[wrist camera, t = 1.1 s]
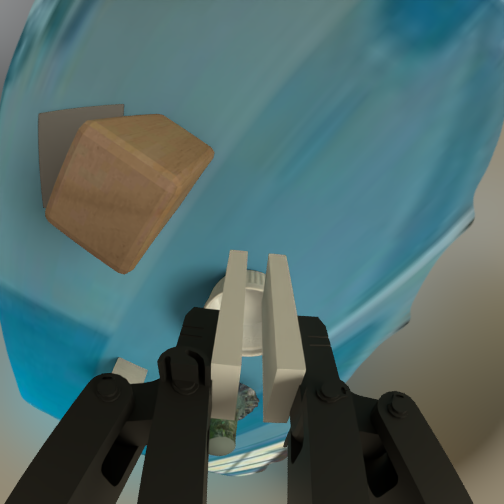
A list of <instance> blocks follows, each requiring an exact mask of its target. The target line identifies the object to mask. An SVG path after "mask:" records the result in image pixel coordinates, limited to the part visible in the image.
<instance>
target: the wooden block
mask: <svg viewBox="0 0 504 504" xmlns="http://www.w3.org/2000/svg"><path fill="white" fill-rule="evenodd" d="M213 157H214V151H213V149H212V148H211V147H210V146H208V145H207V144H205V143H204V142H203V141H201V140H200V139H198V138H197V137H195V136H194V135H192V134H191V133H189V132H188V131H186V130H185V129H183V128H182V127H180V126H179V125H177V124H176V123H174V122H173V121H171V120H170V119H168V118H167V117H165V116H164V115H160V114H148V115H134V116H122V117H112V118H103V119H95V120H87V121H86V122H85V123H84V124H83V125H82V126H81V127H80V128H79V129H78V131H77V133H76V135H75V138H74V140H73V142H72V144H71V146H70V148H69V151H68V153H67V155H66V158H65V160H64V162H63V165H62V167H61V170H60V172H59V175H58V177H57V180H56V182H55V185H54V188H53V190H52V193H51V196H50V199H49V202H48V205H47V208H46V211H45V217H46V218H47V220H48V221H49V222H50V223H51V224H52V225H53V226H55V227H56V228H57V229H59V230H60V231H61V232H63V233H64V234H65V235H66V236H68V237H69V238H70V239H72V240H73V241H74V242H76V243H77V244H78V245H80V246H81V247H83V248H84V249H85V250H87V251H88V252H89V253H91V254H92V255H94V256H95V257H96V258H98V259H99V260H101V261H102V262H103V263H105V264H106V265H108V266H109V267H111V268H112V269H114V270H115V271H116V272H118V273H121V274H126V273H128V272H130V271H131V270H133V269H134V268H135V266H136V265H137V263H138V262H139V261H140V259H141V258H142V256H143V255H144V253H145V252H146V251H147V249H148V248H149V246H150V245H151V244H152V242H153V241H154V239H155V238H156V237H157V235H158V234H159V233H160V231H161V230H162V229H163V227H164V226H165V225H166V223H167V222H168V221H169V219H170V218H171V217H172V215H173V214H174V213H175V211H176V210H177V209H178V207H179V206H180V205H181V203H182V202H183V200H184V199H185V197H186V196H187V194H188V193H189V191H190V190H191V189H192V187H193V186H194V184H195V183H196V181H197V180H198V179H199V177H200V176H201V174H202V173H203V171H204V170H205V169H206V167H207V166H208V164H209V163H210V162H211V160H212V159H213Z"/></svg>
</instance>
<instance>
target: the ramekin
mask: <svg viewBox="0 0 504 504" xmlns="http://www.w3.org/2000/svg"><path fill="white" fill-rule="evenodd" d="M225 277H226V276H225ZM225 277H223V278H222V279H221V280H220V281H219V282H218V283H217V284H216V286H215V287H214V288H213V290H212V292H211V294H210V297H209V299H208V300H207V302H206V303H205V306H204V308H207V309H216V310H220V306H221V300H222V294H223V288H224V282H225ZM265 277H266V274H264V273H262V272H258V271H253V270H247V271H246V288H245V305H244V323H243V340H242V356H259V355H262V306H261V304H262V297H263V291H264V284H265Z"/></svg>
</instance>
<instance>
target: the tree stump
mask: <svg viewBox="0 0 504 504" xmlns="http://www.w3.org/2000/svg"><path fill="white" fill-rule="evenodd" d="M258 402H259V399H258V398H257V396H256V393H255V391H254V390H252V389H251V388H250V387H248V386H246V385H244V384H242V383H239V387H238V395H237V403H236V411H235V419H234V420H226V419H216V418H211V419H210V438H209V454H210V455H215V456H223V455H227V454H229V453H231V452H232V451H233V450H234V449H235V446H236V445H235V439H236V429H237V420H240V419H243V418H244V417H245V416H246V415H247V414H249V413H250V412H252V410H253V408H255V407H257V406H258Z"/></svg>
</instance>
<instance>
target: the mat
mask: <svg viewBox="0 0 504 504" xmlns="http://www.w3.org/2000/svg"><path fill="white" fill-rule="evenodd" d="M123 114H124V104H117V105H103V106H92V107H82V108H73V109H66V110H58V111H52V112H45V113H39V164H40V179H41V190H42V200H43V208H47V205H48V202H49V199H50V196H51V193H52V190H53V188H54V185H55V182H56V180H57V177H58V175H59V172H60V170H61V167H62V165H63V162H64V160H65V158H66V155H67V153H68V151H69V148H70V146H71V144H72V142H73V140H74V138H75V135H76V133H77V131H78V129H79V128H80V127H81V126H82V125H83V124H84V123H85V122H86V121H87V120H95V119H103V118H112V117H122V116H123Z"/></svg>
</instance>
